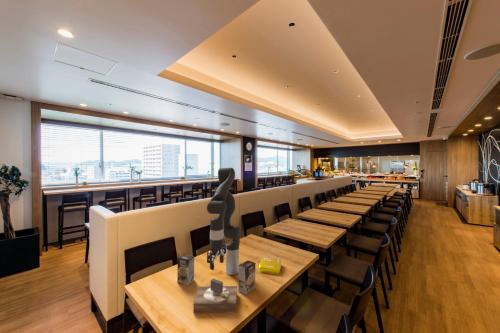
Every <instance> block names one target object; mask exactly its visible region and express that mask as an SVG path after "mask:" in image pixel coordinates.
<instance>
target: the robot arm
mask: <svg viewBox="0 0 500 333" xmlns="http://www.w3.org/2000/svg"><path fill="white" fill-rule="evenodd" d="M235 171H236V170H235V168H234V167H221V168H218V171H217V178H218V183H219V184H218V185H219V186H218V187H216V190H215V191H214V195H213V196H212V198H210V200H208V202H207V205H206V212H207V213H208V214H211V215H218V216H216V217H212V218H211V219H210V221H209V222H210V224H209V225H210V231H209V246H210V248H211V250H210V251H207V252H206V263H207V264H209V269H210V270H211V271H214V270H215V261H216V260H217V257H218V256H219V263H221V264H223V263H224V259H225V274H227V275H228V276H235V275H239V265H240V243H241V242H240V241H241V228H240V226H239V225H232V224H231V219H232V216H233V215H234V212H235V210H236V201H235V197H234V195H233V194H232V193H231V192H230V188H231V186H232V185H233V183H234V181H235V178H236V172H235ZM225 238H226V239H231V240H232V241H229V242H227V243H225V240H224V239H225ZM224 257H225V258H224Z"/></svg>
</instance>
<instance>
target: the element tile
mask: <svg viewBox="0 0 500 333" xmlns="http://www.w3.org/2000/svg"><path fill="white" fill-rule="evenodd" d="M280 269H282V260H281V259H278V258H277V259H275V258H270V257H269V258H267V257H262V258H261V260H260V263H259V265H258V272H259V271H260V272H259V273H262V272H264V273H265V274H269V273H273V274H272V275H280V274H279V273H281V270H280ZM264 273H263V274H264Z"/></svg>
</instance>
